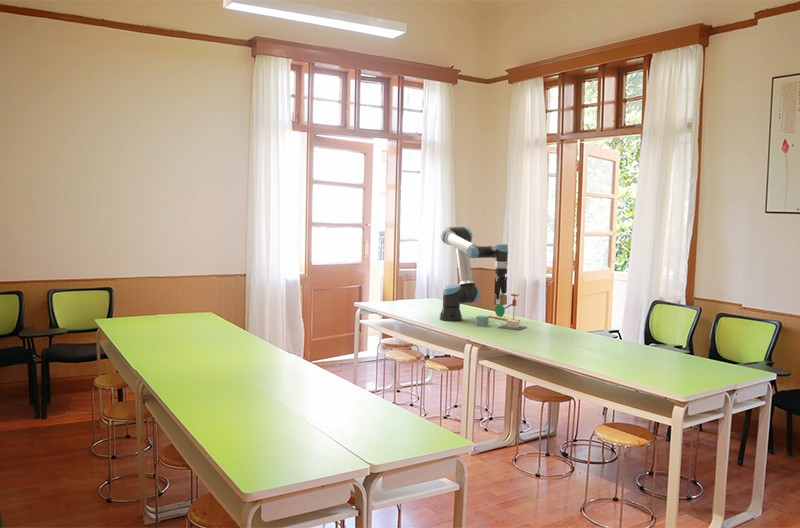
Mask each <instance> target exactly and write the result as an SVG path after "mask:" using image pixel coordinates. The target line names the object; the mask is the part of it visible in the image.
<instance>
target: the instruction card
mask: <svg viewBox="0 0 800 528" xmlns="http://www.w3.org/2000/svg"><path fill="white" fill-rule="evenodd" d="M493 325H496V326H503V325H507V323H503V322H495V323H493Z"/></svg>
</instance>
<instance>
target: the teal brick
mask: <svg viewBox="0 0 800 528" xmlns="http://www.w3.org/2000/svg"><path fill="white" fill-rule="evenodd" d="M475 318H476V319H475V320H476V321H475V325H476V326H477V327H487V326H489V323H490V322H489V321H490V320H489V319H490V318H489V315H476V317H475Z"/></svg>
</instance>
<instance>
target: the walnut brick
mask: <svg viewBox="0 0 800 528" xmlns="http://www.w3.org/2000/svg"><path fill="white" fill-rule="evenodd" d="M507 304H508V294H507V295H506V294H505V295H501V296H500V304H496V294H494V297H493V305H494V306H495V305H496V306H497V305H503V306H505V305H507Z"/></svg>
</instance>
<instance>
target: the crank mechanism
mask: <svg viewBox="0 0 800 528" xmlns="http://www.w3.org/2000/svg"><path fill="white" fill-rule="evenodd" d="M510 296H512V297H514V298H512V301H511V302H512V303H511V304H509V305H507V306H505V307H504V305H496V306H495V309H494V311H495V314H492V315H490V314H489V315H488V316H489V319H494V320H499V321H504V322H507V320H516V321H520V322H521V319H517V318H515V313H513V316H512V318H511V317H506V316H504V315H505V313H506V312H505V311H506V309H507V308H509V307H511V306H513V311H515V310H516V309H515V307H517V299H516V297H519V296H520V293H516V292H513V293H512V292H511V293H510Z"/></svg>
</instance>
